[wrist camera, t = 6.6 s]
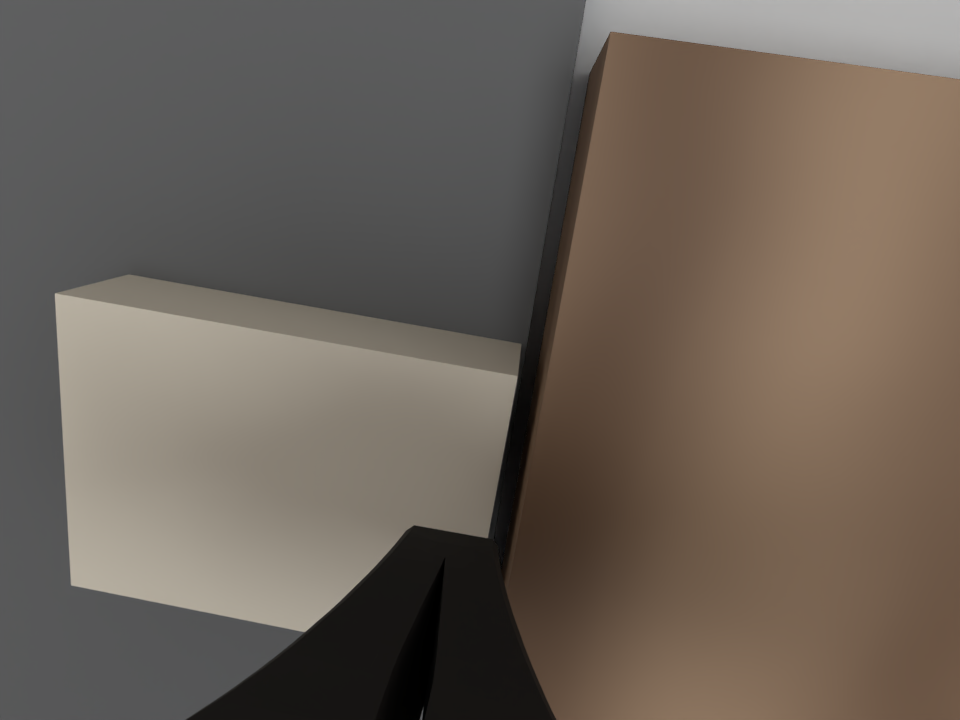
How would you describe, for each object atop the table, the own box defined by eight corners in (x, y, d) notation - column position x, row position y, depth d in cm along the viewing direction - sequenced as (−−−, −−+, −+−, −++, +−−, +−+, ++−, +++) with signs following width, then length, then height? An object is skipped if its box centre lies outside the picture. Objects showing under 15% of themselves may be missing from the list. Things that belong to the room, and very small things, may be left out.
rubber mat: (-116, 690, 17) (-135, 705, 17) (-285, -172, 11) (-321, -187, 11) (448, 801, 17) (445, 820, 16) (594, -58, 10) (597, -69, 10)
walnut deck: (469, 748, 16) (450, 901, 13) (589, 73, 11) (610, 31, 8) (1029, 856, 15) (1166, 1048, 12) (1420, 190, 10) (1835, 199, 7)
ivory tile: (133, 530, 14) (70, 585, 12) (129, 274, 12) (54, 293, 11) (475, 596, 14) (464, 664, 12) (521, 343, 12) (517, 376, 10)
